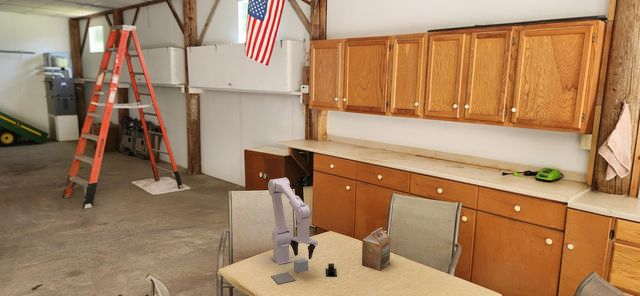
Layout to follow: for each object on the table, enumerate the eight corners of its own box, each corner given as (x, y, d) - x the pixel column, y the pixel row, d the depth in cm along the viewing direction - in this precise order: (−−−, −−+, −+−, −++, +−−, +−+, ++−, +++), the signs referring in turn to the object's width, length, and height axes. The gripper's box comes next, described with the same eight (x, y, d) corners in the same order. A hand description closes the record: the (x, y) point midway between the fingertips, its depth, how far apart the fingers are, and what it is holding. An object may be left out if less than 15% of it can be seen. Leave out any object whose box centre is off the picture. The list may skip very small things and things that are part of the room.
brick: (293, 269, 218) (293, 260, 217) (304, 267, 221) (304, 257, 220) (297, 272, 214) (297, 263, 214) (308, 270, 217) (308, 260, 216)
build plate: (323, 268, 221) (323, 259, 220) (338, 268, 221) (338, 259, 220) (324, 279, 208) (324, 270, 208) (339, 279, 209) (339, 270, 208)
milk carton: (379, 271, 217) (380, 235, 213) (361, 265, 223) (362, 230, 220) (389, 264, 225) (391, 229, 222) (372, 258, 231) (373, 225, 228)
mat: (270, 277, 209) (270, 275, 209) (287, 273, 214) (287, 271, 213) (278, 284, 201) (278, 283, 201) (295, 280, 206) (295, 279, 206)
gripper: (286, 230, 207) (286, 257, 209) (313, 235, 201) (313, 263, 203) (293, 226, 213) (292, 251, 215) (319, 230, 207) (319, 257, 210)
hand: (303, 257), depth 210 cm, fingers open, 7 cm apart
